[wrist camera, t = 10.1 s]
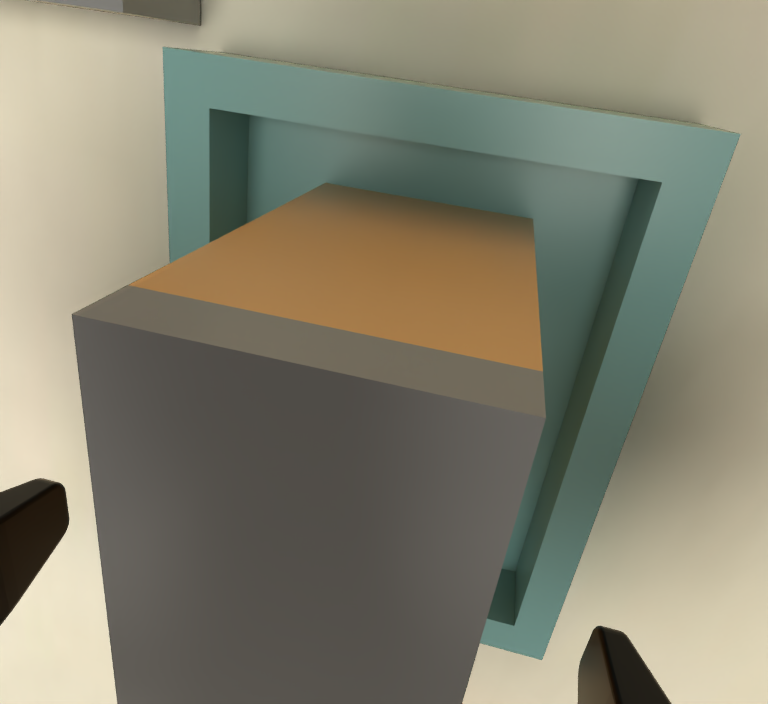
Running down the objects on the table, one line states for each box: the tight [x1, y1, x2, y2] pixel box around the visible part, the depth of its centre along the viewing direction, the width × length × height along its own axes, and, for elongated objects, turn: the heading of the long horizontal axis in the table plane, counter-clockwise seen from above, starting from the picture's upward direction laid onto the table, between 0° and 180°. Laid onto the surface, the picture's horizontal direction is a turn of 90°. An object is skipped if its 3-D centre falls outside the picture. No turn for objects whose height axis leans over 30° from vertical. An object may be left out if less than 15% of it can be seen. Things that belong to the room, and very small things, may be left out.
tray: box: [163, 47, 740, 660], centre depth 15 cm, size 11×14×2 cm
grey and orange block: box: [72, 183, 546, 704], centre depth 12 cm, size 5×9×9 cm, turn 173°
